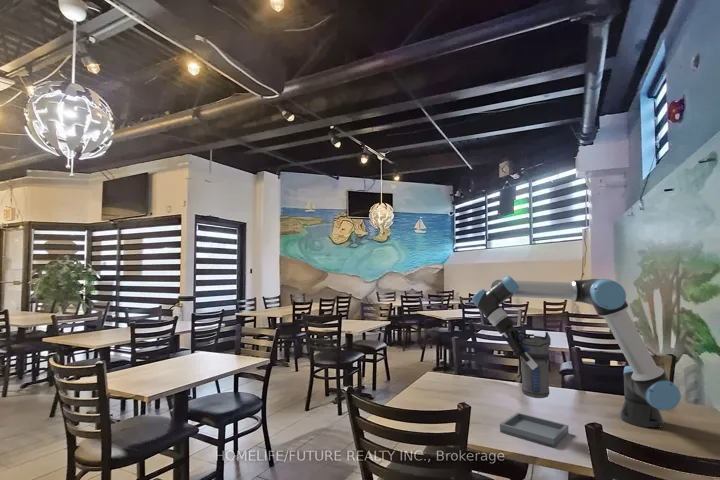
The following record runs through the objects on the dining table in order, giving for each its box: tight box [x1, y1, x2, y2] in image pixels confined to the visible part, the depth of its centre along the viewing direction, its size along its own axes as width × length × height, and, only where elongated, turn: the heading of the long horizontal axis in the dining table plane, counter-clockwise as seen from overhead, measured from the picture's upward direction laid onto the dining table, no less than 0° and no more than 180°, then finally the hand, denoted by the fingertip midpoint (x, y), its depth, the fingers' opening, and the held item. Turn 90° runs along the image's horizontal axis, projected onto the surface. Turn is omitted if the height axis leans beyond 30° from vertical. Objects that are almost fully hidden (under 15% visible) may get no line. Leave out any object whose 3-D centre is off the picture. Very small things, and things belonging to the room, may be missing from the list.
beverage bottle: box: [515, 331, 552, 399], centre depth 160 cm, size 10×13×25 cm
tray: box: [499, 412, 569, 449], centre depth 158 cm, size 20×18×3 cm
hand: (540, 365), depth 158 cm, fingers closed on beverage bottle, 10 cm apart
